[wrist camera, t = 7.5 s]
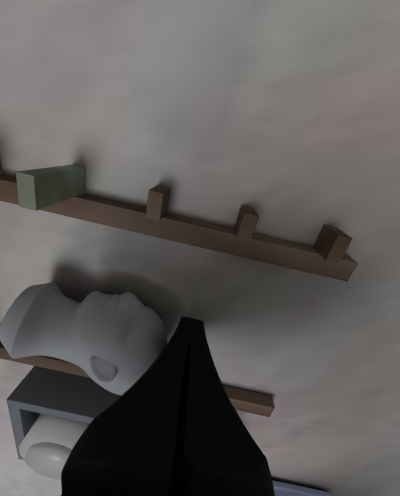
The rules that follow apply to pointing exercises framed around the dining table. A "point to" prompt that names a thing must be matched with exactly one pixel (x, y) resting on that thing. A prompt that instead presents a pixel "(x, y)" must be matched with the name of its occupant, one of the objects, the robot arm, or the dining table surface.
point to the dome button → (50, 444)
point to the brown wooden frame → (176, 229)
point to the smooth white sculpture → (86, 333)
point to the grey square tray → (55, 399)
